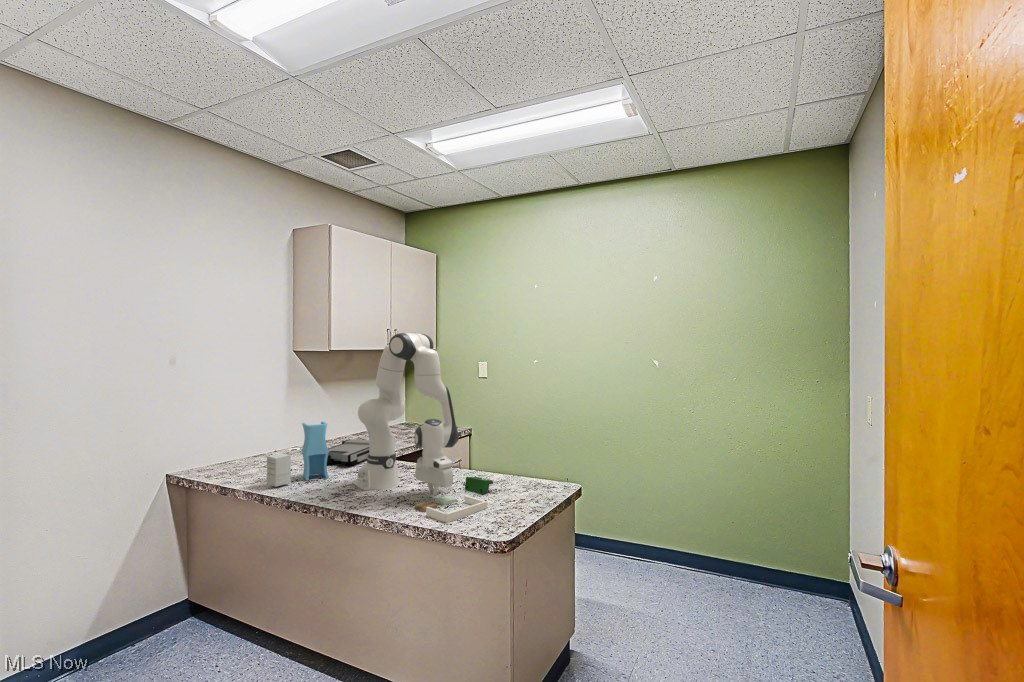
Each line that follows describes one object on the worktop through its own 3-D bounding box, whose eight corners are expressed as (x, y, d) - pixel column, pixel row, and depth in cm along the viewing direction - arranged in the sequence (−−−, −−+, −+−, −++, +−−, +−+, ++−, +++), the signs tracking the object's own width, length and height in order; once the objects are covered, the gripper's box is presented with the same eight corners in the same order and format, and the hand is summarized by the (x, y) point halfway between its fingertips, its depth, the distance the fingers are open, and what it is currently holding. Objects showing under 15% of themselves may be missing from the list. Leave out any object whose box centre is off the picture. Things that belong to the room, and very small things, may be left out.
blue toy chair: (323, 472, 247) (323, 421, 248) (328, 477, 239) (328, 423, 239) (301, 475, 242) (302, 422, 242) (306, 480, 234) (306, 425, 234)
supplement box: (281, 480, 233) (282, 453, 233) (291, 483, 229) (291, 455, 229) (266, 484, 227) (266, 455, 227) (275, 487, 223) (275, 458, 223)
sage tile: (435, 503, 201) (435, 498, 201) (448, 500, 205) (448, 495, 205) (444, 507, 197) (444, 501, 197) (456, 503, 201) (456, 498, 201)
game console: (314, 466, 261) (314, 450, 261) (348, 453, 292) (348, 439, 292) (350, 469, 256) (350, 452, 256) (381, 455, 287) (381, 441, 287)
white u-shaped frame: (426, 515, 186) (426, 507, 186) (466, 503, 201) (466, 495, 201) (446, 523, 178) (446, 514, 178) (487, 509, 193) (487, 501, 193)
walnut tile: (414, 510, 193) (414, 504, 193) (426, 506, 198) (426, 501, 198) (425, 513, 190) (424, 508, 190) (437, 509, 194) (437, 504, 194)
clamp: (488, 502, 214) (497, 483, 213) (478, 502, 210) (487, 483, 209) (471, 486, 222) (480, 468, 221) (461, 486, 218) (470, 467, 217)
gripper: (411, 457, 211) (411, 491, 211) (443, 465, 197) (443, 501, 197) (423, 455, 216) (423, 487, 216) (455, 462, 202) (455, 497, 202)
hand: (433, 494), depth 206 cm, fingers closed
